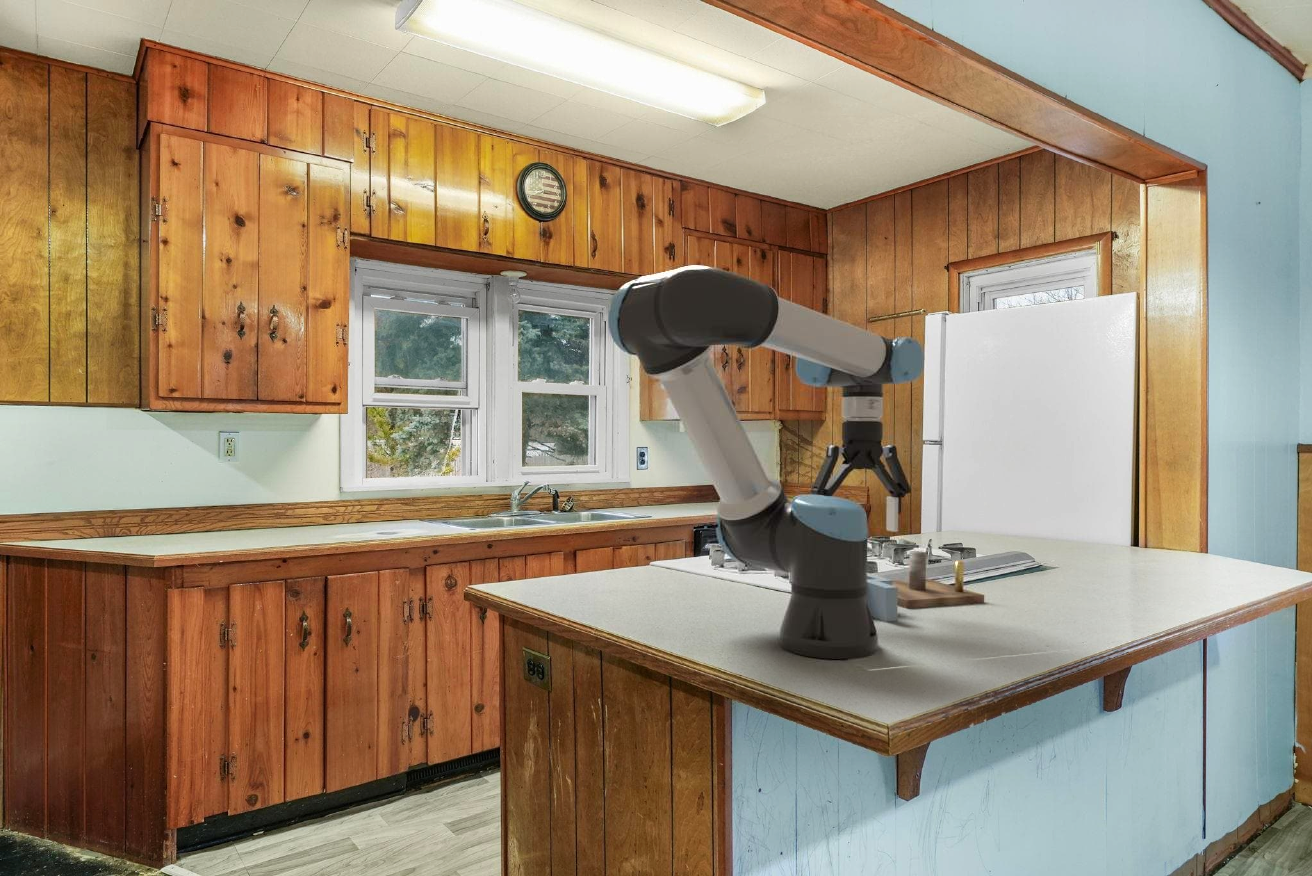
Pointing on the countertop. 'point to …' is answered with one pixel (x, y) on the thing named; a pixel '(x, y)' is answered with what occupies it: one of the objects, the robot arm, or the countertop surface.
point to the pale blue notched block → (882, 598)
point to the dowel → (959, 576)
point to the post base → (929, 588)
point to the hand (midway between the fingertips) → (861, 532)
